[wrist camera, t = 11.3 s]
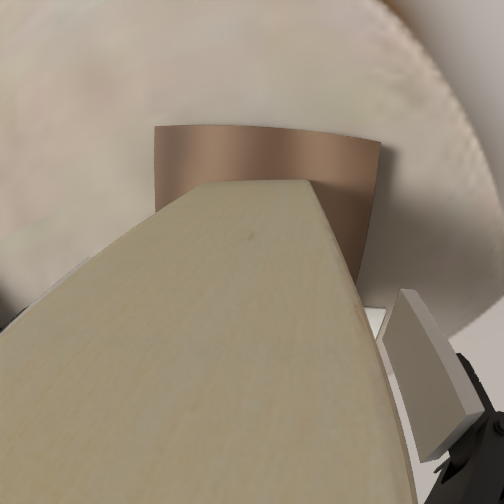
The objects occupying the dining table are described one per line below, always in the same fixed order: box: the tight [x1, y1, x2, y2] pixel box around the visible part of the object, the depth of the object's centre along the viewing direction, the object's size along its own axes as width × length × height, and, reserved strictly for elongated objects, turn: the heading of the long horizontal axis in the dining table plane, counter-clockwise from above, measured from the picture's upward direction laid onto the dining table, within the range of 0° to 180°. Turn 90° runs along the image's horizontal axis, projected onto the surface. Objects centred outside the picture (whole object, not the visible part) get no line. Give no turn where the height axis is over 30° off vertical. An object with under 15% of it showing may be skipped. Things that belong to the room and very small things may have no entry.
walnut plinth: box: [154, 125, 381, 285], centre depth 20 cm, size 14×14×3 cm
